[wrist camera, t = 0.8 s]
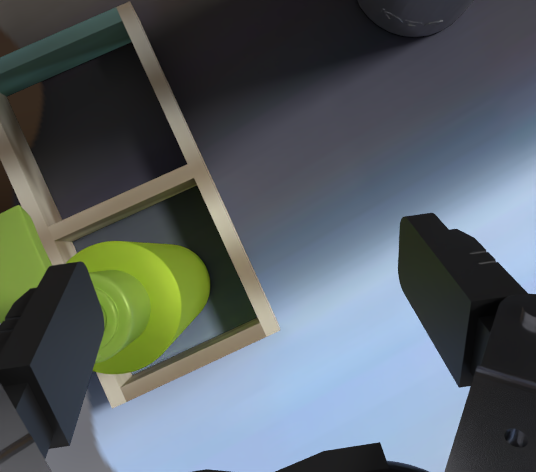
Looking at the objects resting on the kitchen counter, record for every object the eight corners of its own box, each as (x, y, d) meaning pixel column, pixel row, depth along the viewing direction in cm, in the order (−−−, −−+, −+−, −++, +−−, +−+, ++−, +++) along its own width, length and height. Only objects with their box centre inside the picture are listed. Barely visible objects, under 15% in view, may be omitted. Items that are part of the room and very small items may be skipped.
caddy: (-12, 89, 34) (-39, 74, 31) (141, 23, 34) (130, 1, 31) (125, 394, 33) (112, 408, 30) (278, 323, 34) (280, 330, 31)
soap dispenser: (180, 217, 34) (71, 171, 14) (224, 302, 34) (178, 378, 14) (107, 255, 34) (-110, 262, 14) (151, 340, 34) (-2, 474, 14)
